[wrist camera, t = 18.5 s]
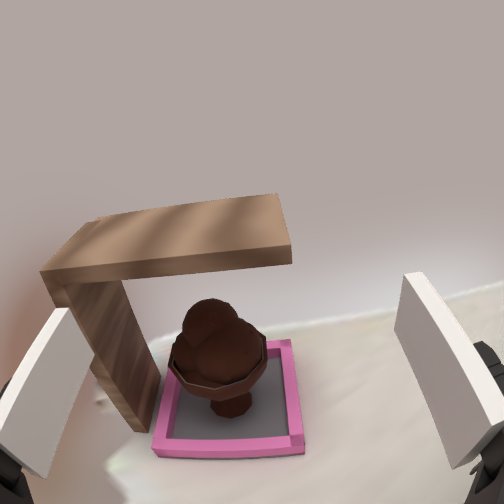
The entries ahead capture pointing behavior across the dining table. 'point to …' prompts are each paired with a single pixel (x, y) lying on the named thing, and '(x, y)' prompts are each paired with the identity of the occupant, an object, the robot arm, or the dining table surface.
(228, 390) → the ice cream bowl
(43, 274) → the display shelf
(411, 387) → the dining table surface
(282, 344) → the seat plate
